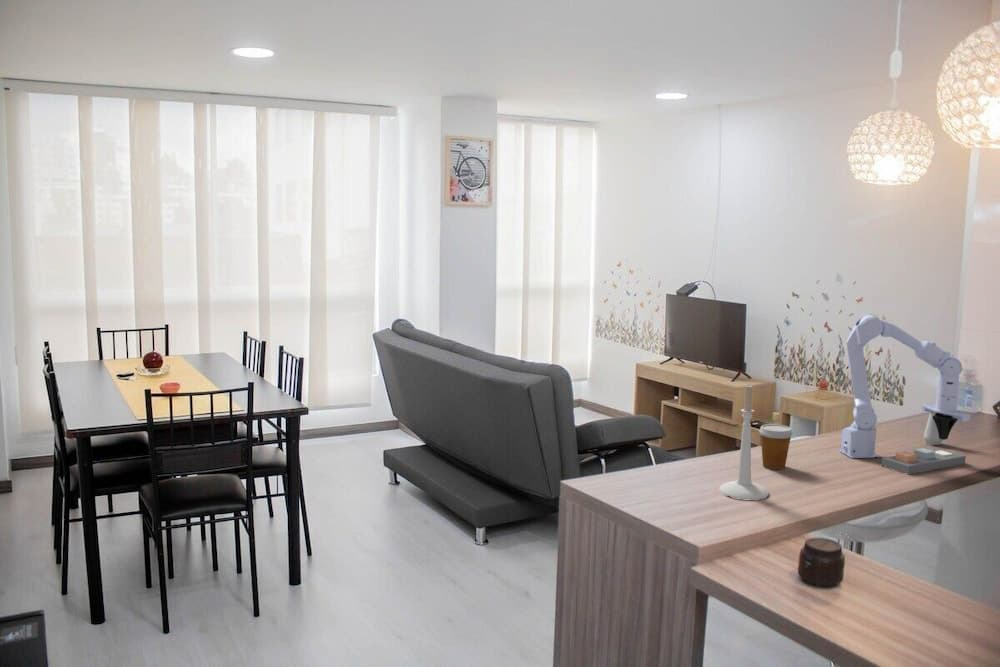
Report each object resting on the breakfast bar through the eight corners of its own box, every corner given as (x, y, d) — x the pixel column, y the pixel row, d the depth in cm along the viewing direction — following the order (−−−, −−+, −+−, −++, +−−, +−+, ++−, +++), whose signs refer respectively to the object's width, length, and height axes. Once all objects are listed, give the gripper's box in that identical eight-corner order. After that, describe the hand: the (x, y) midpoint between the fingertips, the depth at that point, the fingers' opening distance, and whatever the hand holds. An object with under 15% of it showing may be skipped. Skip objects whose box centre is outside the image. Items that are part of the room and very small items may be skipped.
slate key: (925, 460, 248) (926, 453, 248) (913, 457, 252) (914, 449, 251) (934, 459, 250) (935, 451, 250) (922, 455, 253) (923, 448, 253)
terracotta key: (906, 464, 245) (907, 456, 245) (895, 460, 248) (895, 452, 248) (916, 462, 247) (916, 454, 246) (904, 458, 250) (905, 451, 250)
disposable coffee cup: (779, 473, 242) (781, 433, 241) (750, 466, 250) (752, 427, 248) (797, 467, 248) (799, 428, 247) (768, 460, 256) (770, 422, 254)
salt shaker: (946, 446, 271) (949, 407, 270) (928, 446, 272) (931, 407, 270) (937, 441, 277) (940, 403, 275) (919, 441, 277) (922, 403, 275)
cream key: (943, 462, 252) (943, 455, 251) (931, 459, 255) (932, 451, 255) (952, 461, 253) (952, 453, 253) (940, 457, 257) (940, 450, 257)
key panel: (907, 474, 242) (908, 466, 241) (881, 466, 250) (882, 458, 250) (965, 464, 252) (965, 456, 252) (938, 456, 260) (939, 448, 260)
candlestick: (778, 495, 223) (784, 386, 219) (744, 503, 217) (749, 391, 213) (743, 482, 234) (748, 377, 230) (709, 489, 228) (713, 382, 224)
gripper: (978, 399, 247) (974, 443, 249) (934, 389, 260) (931, 431, 262) (962, 401, 244) (958, 446, 246) (919, 391, 257) (915, 434, 259)
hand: (943, 438), depth 253 cm, fingers closed
